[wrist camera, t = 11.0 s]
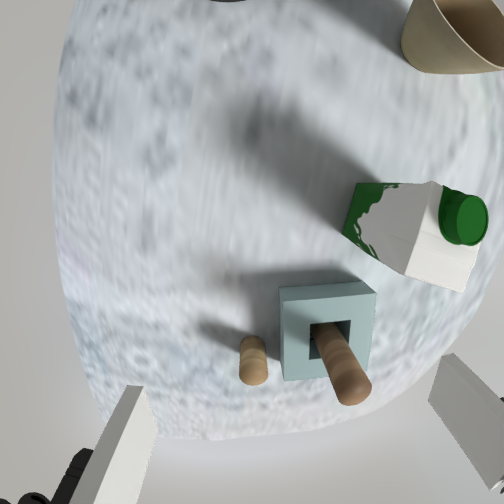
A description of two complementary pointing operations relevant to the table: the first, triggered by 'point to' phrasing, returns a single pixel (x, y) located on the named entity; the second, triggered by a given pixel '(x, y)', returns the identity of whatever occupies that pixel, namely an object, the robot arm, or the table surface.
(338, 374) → the walnut pin long
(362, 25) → the table surface
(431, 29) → the plant pot
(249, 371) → the oak pin short
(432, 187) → the milk carton
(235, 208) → the table surface
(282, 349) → the socket block
